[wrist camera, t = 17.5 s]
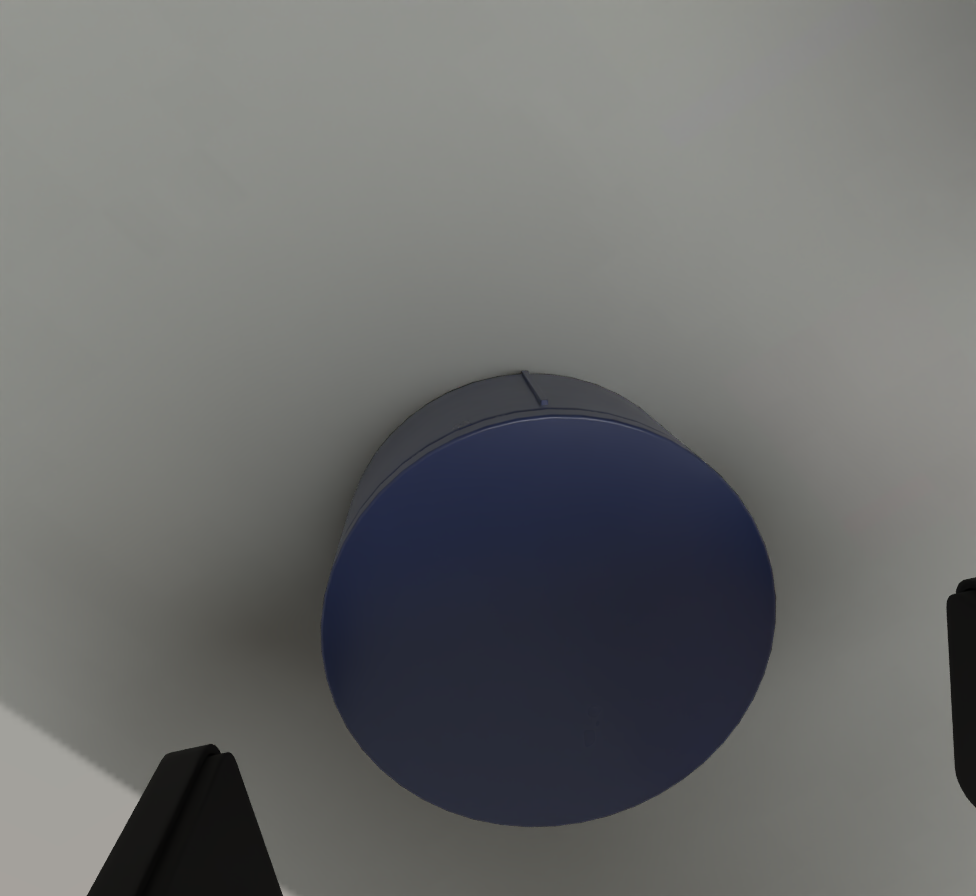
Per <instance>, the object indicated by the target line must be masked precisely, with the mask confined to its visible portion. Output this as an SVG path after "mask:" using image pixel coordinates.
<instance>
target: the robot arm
mask: <svg viewBox="0 0 976 896" xmlns="http://www.w3.org/2000/svg"><path fill="white" fill-rule="evenodd" d="M946 609H947V627H948V646H949V665H950V684H951V703H952V722H953V741H954V760H955V771H956V776H957V779H958V782H959V784H960V787H961V789H962V791H963V792H964V794H965V795H966V797H967V798H968V800H969V801H970V802H971V803H972V804H973V805H974V806H975V807H976V577H975V578H971V579H966V580H963V581H962V582H960V583H959V584H958V587H957V589H956V594H952V595H951V596H949V598H948V600H947V607H946ZM87 896H283V895H282V892H281V889H280V886H279V883H278V880H277V877H276V875H275V872H274V869H273V866H272V863H271V860H270V857H269V854H268V852H267V849H266V846H265V843H264V840H263V837H262V834H261V831H260V828H259V826H258V823H257V820H256V817H255V814H254V811H253V808H252V805H251V803H250V800H249V797H248V794H247V791H246V788H245V785H244V782H243V779H242V777H241V774H240V771H239V768H238V765H237V762H236V760H235V758H234V756H233V755H232V754H231V753H229V752H226V753H222V754H221V752H220V750H219V749H218V748H217V747H216V746H215V745H213V744H208V745H203V746H199V747H194V748H190V749H185V750H180V751H176V752H171V753H169V754H166V755H165V756H164V758H163V759H162V760H161V762H160V764H159V766H158V767H157V769H156V771H155V773H154V775H153V776H152V778H151V780H150V782H149V784H148V786H147V787H146V789H145V791H144V793H143V795H142V796H141V798H140V800H139V802H138V804H137V806H136V807H135V809H134V811H133V813H132V815H131V817H130V818H129V820H128V822H127V824H126V826H125V827H124V829H123V831H122V833H121V835H120V837H119V838H118V840H117V842H116V844H115V846H114V847H113V849H112V851H111V853H110V855H109V856H108V858H107V860H106V862H105V864H104V866H103V867H102V869H101V871H100V873H99V875H98V876H97V878H96V880H95V882H94V884H93V886H92V887H91V889H90V891H89V893H88V895H87Z"/></svg>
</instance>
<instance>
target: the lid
mask: <svg viewBox="0 0 976 896" xmlns="http://www.w3.org/2000/svg"><path fill="white" fill-rule="evenodd" d="M775 624H776V594H775V587H774V579H773V572H772V567H771V564H770V560H769V557H768V553H767V550H766V546H765V543H764V541H763V539H762V537H761V534H760V532H759V530H758V528H757V526H756V523H755V521H754V519H753V517H752V516H751V514H750V513H749V511H748V510H747V508H746V507H745V505H744V504H743V502H742V501H741V499H740V498H739V496H738V495H737V494H736V493H735V491H734V490H733V489H732V488H731V487H730V486H729V485H728V484H727V482H726V481H725V480H724V479H723V478H722V477H721V476H720V475H719V474H718V473H717V472H716V471H715V470H714V469H712V468H711V467H710V466H709V465H708V464H706V463H705V462H704V461H703V460H702V459H700V458H699V457H698V456H697V455H696V454H694V453H693V452H692V451H691V450H690V449H688V448H687V447H686V446H685V445H684V444H683V443H681V442H680V441H679V440H678V439H677V438H675V437H674V436H673V435H672V434H671V433H669V432H668V431H667V430H666V429H665V428H663V427H662V426H661V425H660V424H659V423H657V422H656V421H655V420H654V419H653V418H651V417H650V416H649V415H648V414H647V413H646V412H644V411H643V410H642V409H641V408H640V407H638V406H636V405H635V404H633V403H632V402H630V401H628V400H627V399H625V398H624V397H622V396H620V395H619V394H616V393H614V392H612V391H610V390H607V389H605V388H603V387H601V386H599V385H596V384H592V383H589V382H586V381H582V380H579V379H575V378H570V377H564V376H557V375H551V374H530V373H529V372H528V371H522V374H517V375H508V376H499V377H495V378H491V379H486V380H482V381H478V382H474V383H471V384H469V385H466V386H464V387H461V388H458V389H456V390H453V391H451V392H449V393H447V394H445V395H443V396H441V397H440V398H438V399H436V400H434V401H432V402H430V403H428V404H427V405H426V406H424V407H423V408H422V409H420V410H419V411H417V412H416V413H415V414H413V415H412V416H410V417H409V418H408V419H407V420H406V421H405V422H404V423H402V424H401V425H400V426H399V427H398V428H397V429H396V430H395V431H394V432H393V433H392V434H391V435H390V436H389V437H388V438H387V440H386V441H385V442H384V443H383V445H382V446H381V447H380V448H379V450H378V451H377V452H376V453H375V455H374V456H373V458H372V460H371V461H370V463H369V465H368V466H367V468H366V470H365V471H364V473H363V475H362V477H361V479H360V481H359V484H358V486H357V488H356V491H355V493H354V495H353V498H352V502H351V505H350V509H349V512H348V515H347V519H346V522H345V525H344V529H343V532H342V535H341V539H340V542H339V546H338V549H337V552H336V556H335V559H334V562H333V566H332V569H331V573H330V577H329V580H328V584H327V588H326V591H325V595H324V601H323V609H322V618H321V652H322V657H323V663H324V669H325V674H326V679H327V682H328V685H329V688H330V691H331V694H332V697H333V700H334V703H335V705H336V707H337V709H338V711H339V713H340V715H341V717H342V719H343V721H344V723H345V725H346V727H347V729H348V730H349V731H350V733H351V734H352V736H353V737H354V738H355V740H356V741H357V743H358V744H359V746H360V747H361V748H362V750H363V751H364V752H365V753H366V754H367V755H368V756H369V757H370V758H371V760H372V761H373V762H374V763H375V764H376V765H377V766H378V767H379V768H380V769H381V770H382V771H383V772H385V773H386V774H387V775H388V776H389V777H391V778H392V779H393V780H394V781H396V782H397V783H398V784H399V785H400V786H402V787H404V788H405V789H407V790H408V791H410V792H412V793H413V794H415V795H416V796H418V797H420V798H421V799H423V800H425V801H427V802H429V803H431V804H433V805H436V806H438V807H440V808H442V809H444V810H446V811H449V812H452V813H455V814H458V815H461V816H464V817H468V818H471V819H474V820H479V821H484V822H489V823H494V824H499V825H509V826H521V827H547V826H561V825H568V824H575V823H582V822H586V821H591V820H595V819H599V818H603V817H607V816H610V815H613V814H616V813H618V812H621V811H624V810H627V809H629V808H632V807H635V806H637V805H639V804H641V803H643V802H645V801H647V800H649V799H651V798H653V797H655V796H657V795H659V794H661V793H662V792H664V791H666V790H667V789H669V788H670V787H672V786H673V785H675V784H677V783H678V782H680V781H681V780H683V779H684V778H685V777H687V776H688V775H689V774H690V773H692V772H693V771H694V770H695V769H697V768H698V767H699V766H700V765H702V764H703V763H704V762H705V761H706V760H707V759H708V758H709V757H710V756H711V755H712V754H713V753H714V752H715V751H716V750H717V749H718V748H719V747H720V746H721V745H722V744H723V743H724V741H725V740H726V739H727V738H728V736H729V735H730V734H731V732H732V731H733V730H734V729H735V727H736V726H737V725H738V724H739V722H740V721H741V719H742V717H743V716H744V714H745V712H746V711H747V709H748V707H749V706H750V704H751V702H752V701H753V699H754V697H755V694H756V692H757V690H758V688H759V685H760V683H761V681H762V679H763V676H764V674H765V670H766V667H767V663H768V660H769V657H770V653H771V650H772V643H773V637H774V630H775Z"/></svg>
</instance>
